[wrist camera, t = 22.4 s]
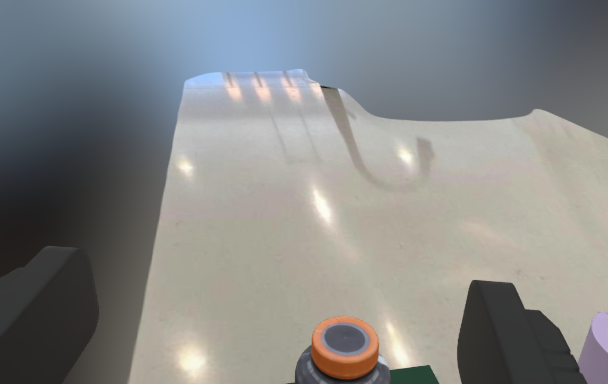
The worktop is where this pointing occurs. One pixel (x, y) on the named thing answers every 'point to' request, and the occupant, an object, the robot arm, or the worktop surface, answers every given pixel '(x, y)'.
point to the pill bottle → (343, 355)
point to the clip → (596, 351)
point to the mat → (412, 376)
